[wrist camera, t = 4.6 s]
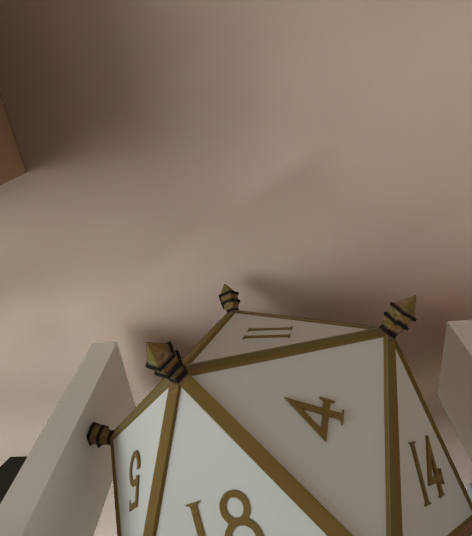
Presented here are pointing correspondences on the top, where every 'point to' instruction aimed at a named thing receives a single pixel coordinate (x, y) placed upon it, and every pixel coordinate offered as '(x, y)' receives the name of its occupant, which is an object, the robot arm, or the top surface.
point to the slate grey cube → (470, 491)
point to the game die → (285, 436)
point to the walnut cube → (8, 150)
